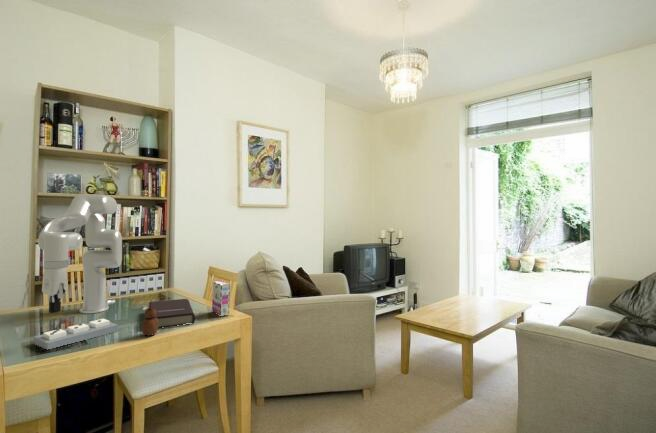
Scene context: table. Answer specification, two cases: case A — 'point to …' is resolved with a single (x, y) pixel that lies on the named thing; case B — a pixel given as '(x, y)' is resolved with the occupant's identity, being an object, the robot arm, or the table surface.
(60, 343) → the tile board
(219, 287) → the candy bar box
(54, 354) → the table surface
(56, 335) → the three dot tile
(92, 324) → the one dot tile
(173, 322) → the book
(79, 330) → the two dot tile
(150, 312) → the wooden figurine
